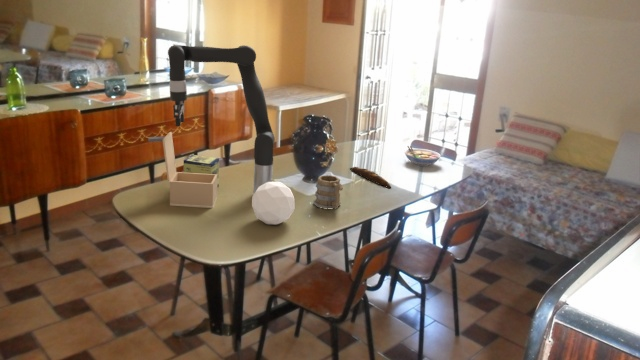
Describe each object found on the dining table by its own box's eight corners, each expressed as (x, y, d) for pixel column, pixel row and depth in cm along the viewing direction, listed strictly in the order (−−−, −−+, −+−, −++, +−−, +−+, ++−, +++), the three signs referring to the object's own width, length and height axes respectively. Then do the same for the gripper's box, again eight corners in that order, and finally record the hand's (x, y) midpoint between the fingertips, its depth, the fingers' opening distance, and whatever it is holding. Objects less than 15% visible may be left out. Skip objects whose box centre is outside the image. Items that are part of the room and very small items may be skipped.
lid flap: (171, 131, 266) (153, 132, 266) (164, 139, 252) (144, 140, 252) (176, 171, 273) (158, 172, 273) (169, 181, 259) (150, 182, 259)
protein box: (211, 193, 282) (212, 163, 277) (183, 188, 285) (182, 159, 280) (219, 186, 292) (219, 158, 287) (191, 182, 295) (191, 154, 290)
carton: (217, 197, 277) (217, 174, 273) (212, 207, 264) (212, 184, 260) (176, 194, 276) (176, 171, 272) (170, 205, 263) (169, 181, 259)
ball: (268, 240, 251) (251, 215, 236) (257, 210, 264) (239, 184, 250) (306, 221, 251) (291, 194, 237) (292, 192, 265) (277, 165, 250)
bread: (394, 189, 310) (395, 180, 308) (388, 190, 307) (389, 182, 306) (352, 169, 339) (353, 161, 337) (346, 170, 336) (347, 162, 335)
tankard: (310, 201, 282) (312, 173, 277) (333, 199, 287) (335, 171, 282) (326, 216, 264) (328, 186, 260) (350, 214, 269) (352, 184, 265)
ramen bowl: (442, 171, 346) (444, 159, 343) (405, 169, 346) (407, 156, 343) (435, 160, 370) (437, 148, 367) (401, 157, 369) (402, 145, 367)
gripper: (183, 92, 251) (185, 127, 257) (189, 87, 265) (190, 120, 270) (166, 92, 251) (168, 127, 256) (173, 87, 264) (174, 120, 270)
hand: (180, 124), depth 263 cm, fingers open, 8 cm apart
